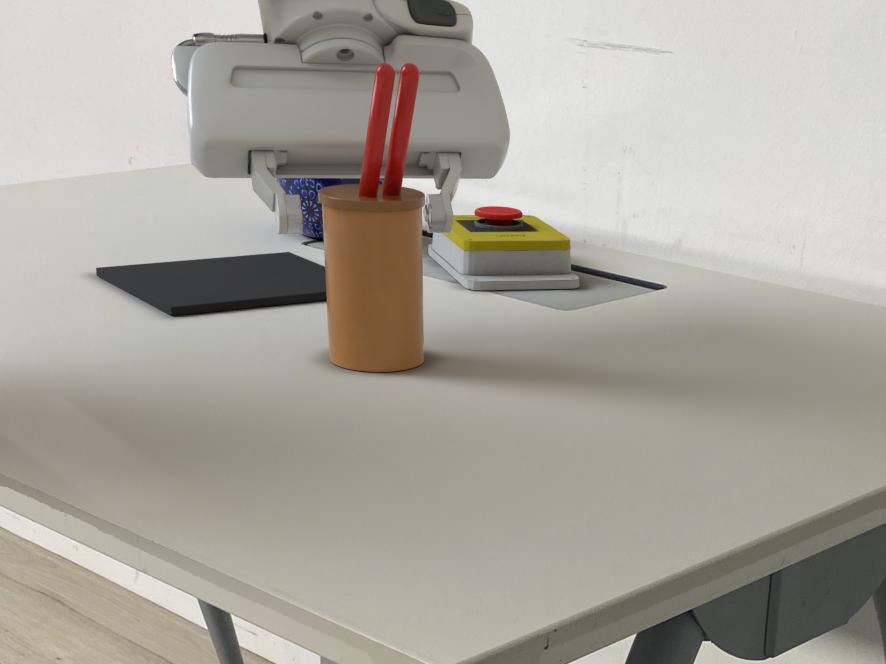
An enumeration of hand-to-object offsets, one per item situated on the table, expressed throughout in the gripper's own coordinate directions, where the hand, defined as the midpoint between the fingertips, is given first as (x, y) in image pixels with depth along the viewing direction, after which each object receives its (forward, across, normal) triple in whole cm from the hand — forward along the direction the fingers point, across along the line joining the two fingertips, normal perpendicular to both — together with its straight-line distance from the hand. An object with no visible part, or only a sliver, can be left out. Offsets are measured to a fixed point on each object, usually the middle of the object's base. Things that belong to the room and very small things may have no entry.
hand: (367, 228), depth 89 cm
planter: (-22, +5, +34) cm, 41 cm away
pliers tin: (+7, 0, +4) cm, 8 cm away
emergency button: (-12, +15, +23) cm, 30 cm away
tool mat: (-9, -6, +19) cm, 22 cm away
